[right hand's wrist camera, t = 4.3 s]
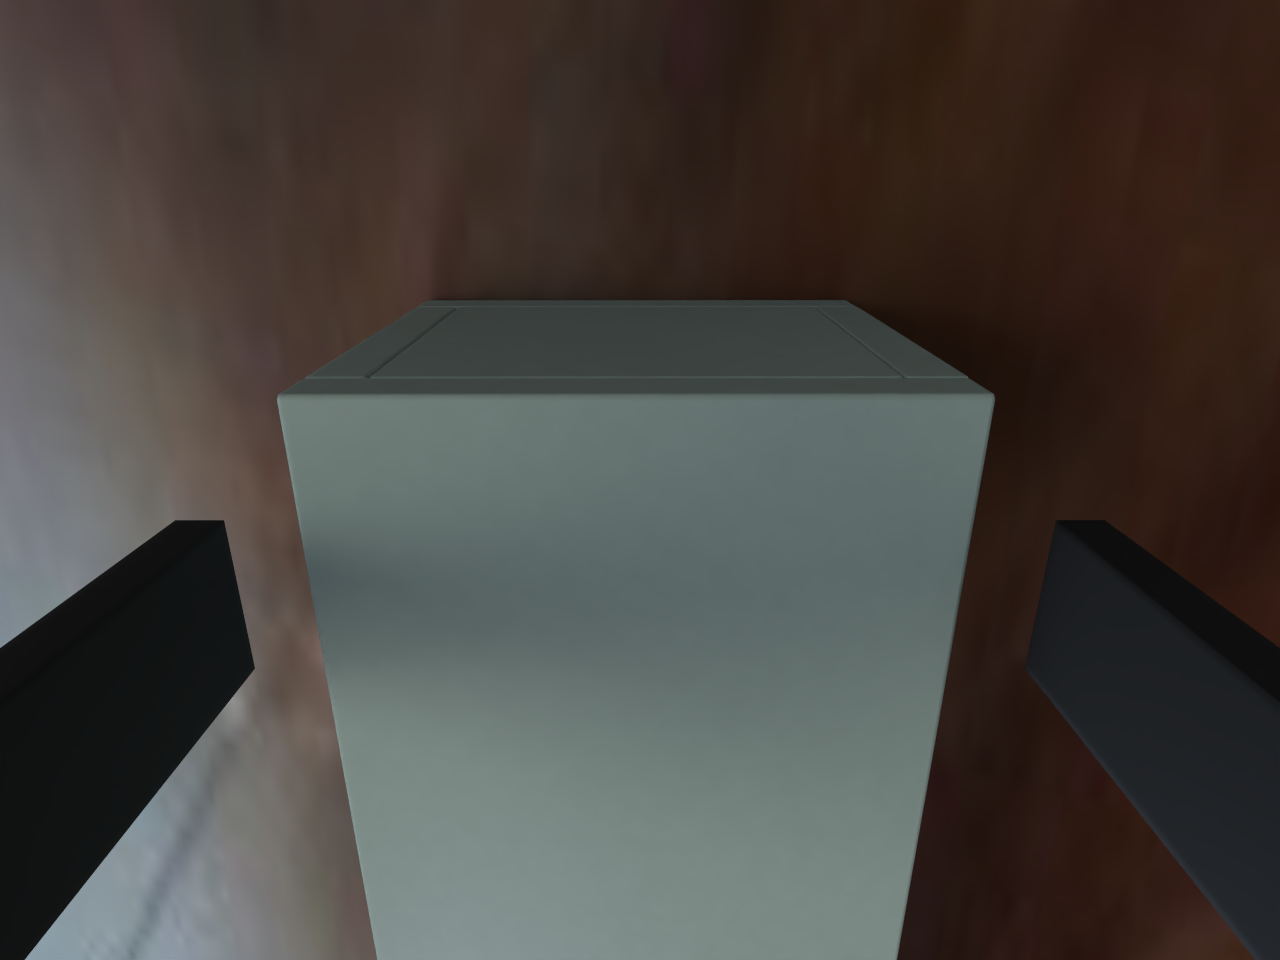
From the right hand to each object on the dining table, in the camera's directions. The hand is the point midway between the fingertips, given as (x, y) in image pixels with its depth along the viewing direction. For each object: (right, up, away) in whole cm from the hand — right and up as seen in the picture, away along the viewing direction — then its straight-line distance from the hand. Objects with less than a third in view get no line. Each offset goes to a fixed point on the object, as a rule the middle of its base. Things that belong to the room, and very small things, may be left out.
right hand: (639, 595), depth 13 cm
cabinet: (0, -4, +10) cm, 11 cm away
